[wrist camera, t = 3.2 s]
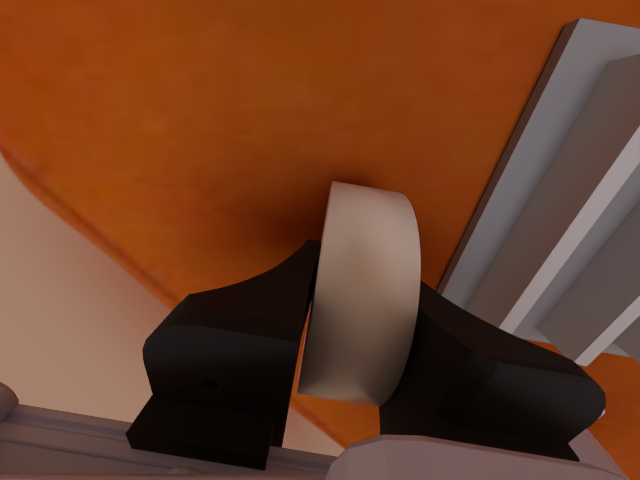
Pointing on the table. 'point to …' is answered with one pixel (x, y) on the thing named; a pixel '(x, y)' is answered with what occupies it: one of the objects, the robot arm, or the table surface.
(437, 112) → the table surface
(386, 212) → the cream round puck
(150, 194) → the table surface
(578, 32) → the dish rack
